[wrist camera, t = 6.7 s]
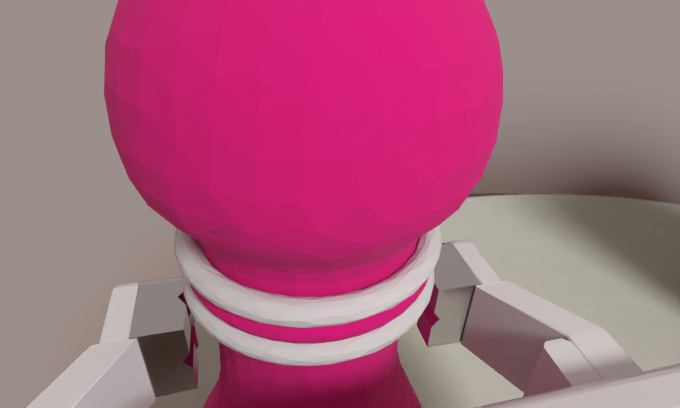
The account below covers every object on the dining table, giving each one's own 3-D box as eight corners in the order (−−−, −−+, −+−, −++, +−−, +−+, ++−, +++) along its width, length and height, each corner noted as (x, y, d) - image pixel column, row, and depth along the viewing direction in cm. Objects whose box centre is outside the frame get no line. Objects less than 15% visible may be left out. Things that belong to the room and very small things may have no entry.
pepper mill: (163, 625, 14) (-398, -401, 3) (257, 412, 20) (186, -196, 9) (398, 715, 13) (988, -601, 2) (425, 457, 18) (588, -199, 7)
